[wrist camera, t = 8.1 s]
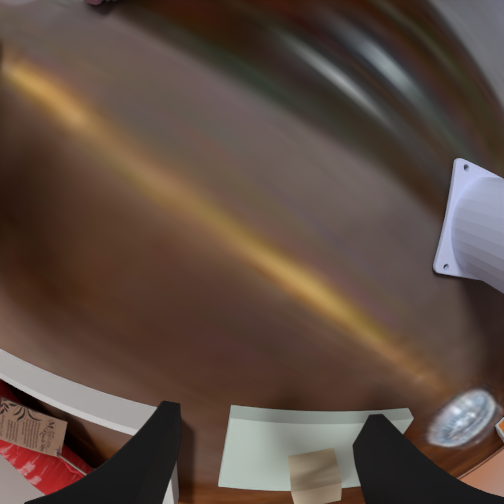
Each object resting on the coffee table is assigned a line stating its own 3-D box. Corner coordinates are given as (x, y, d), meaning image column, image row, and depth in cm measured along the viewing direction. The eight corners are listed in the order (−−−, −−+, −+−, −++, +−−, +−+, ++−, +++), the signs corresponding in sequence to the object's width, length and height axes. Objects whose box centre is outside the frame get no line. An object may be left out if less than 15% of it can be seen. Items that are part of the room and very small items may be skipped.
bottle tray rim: (174, 411, 21) (166, 437, 18) (179, 495, 26) (175, 513, 23) (-47, 320, 20) (-61, 330, 17) (-6, 418, 25) (-15, 429, 22)
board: (407, 407, 21) (413, 418, 20) (360, 475, 24) (363, 485, 23) (231, 404, 21) (230, 418, 19) (219, 475, 24) (218, 486, 22)
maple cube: (333, 447, 20) (341, 482, 16) (333, 468, 21) (340, 499, 17) (287, 456, 21) (291, 492, 17) (292, 475, 22) (295, 508, 18)
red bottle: (-53, 347, 12) (147, 528, 17) (-6, 315, 20) (153, 477, 25) (-71, 388, 12) (86, 533, 17) (-37, 359, 20) (97, 492, 25)
